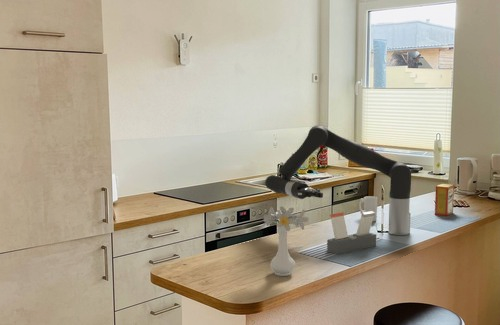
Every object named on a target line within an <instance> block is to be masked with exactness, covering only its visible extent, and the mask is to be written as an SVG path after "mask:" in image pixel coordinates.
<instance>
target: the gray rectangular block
mask: <svg viewBox="0 0 500 325" xmlns="http://www.w3.org/2000/svg"><path fill="white" fill-rule="evenodd" d="M326 240H327V242H326V245H327V246H326V248H327V249H326V251H327V252H328V253H332V254H335V255H341V254H345V253H349V252H353V251H359V250H363V249H366V248H367V249H368V248H371V247H376V246H377V234H376V233H373V232H369V234H365V235H360V236H359V235H357V234H356V233H353V234H348V237H346V238H341V239H335V237H333V238H328V239H326Z"/></svg>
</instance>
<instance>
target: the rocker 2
mask: <svg viewBox="0 0 500 325" xmlns="http://www.w3.org/2000/svg"><path fill="white" fill-rule="evenodd" d="M374 214H375V213H374V212H373V211H369V212H363V213H362V214H361V215H360V220H359V223H358V227H357V230H356V233H355V234H357V235H359V236H360V235H365V234H369V233H370V231H371V227H372V224H373V222H374V221H373V217H374ZM372 221H373V222H372Z"/></svg>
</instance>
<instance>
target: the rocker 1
mask: <svg viewBox="0 0 500 325" xmlns="http://www.w3.org/2000/svg"><path fill="white" fill-rule="evenodd" d="M329 216H330V221H331V225H332V230H333V235H334V238H335V239H341V238H346V237H348V235H349V234H348V230H347V225H346V220H345V214H344V212H338V213H337V212H336V213H330V214H329Z"/></svg>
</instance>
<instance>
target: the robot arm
mask: <svg viewBox="0 0 500 325" xmlns="http://www.w3.org/2000/svg"><path fill="white" fill-rule="evenodd" d="M322 146H323V147H326V148H328V149H331V150H333V151H335V152H336V153H337V154H339V155H340V156H341V157H343V158H345V159H346V160H348V161H350V162H351V163H353V164H356V165H358V166H361V167H365V168H367V169H370V170H375V171H378V172H380V173H382V174H383V175H385V176H387V177H389V178H390V183H389V184H390V188H389V194H388V195H389V200H388V201H389V204H388V205H389V207H388V234H390V235H394V236H406V235H407V236H408V235H409V234H410V233H411V212H410V200H411V199H410V198H411V196H410V195H411V191H412V190H411V188H412V171H411V169H410V167H409V166H408V165H407V164H405V163H403V162H400V161H397V160H394V159H391V158H388V157H385V155H382V154H380V153H379V152H377V151H375V150H373V149H371V148H370V147H368V146H366V145H364V144H361V143H359V142H357V141H353V140H352V139H349V138H345V137H343V136H341V135H338V134H336V133H335V132H332V131H331V130H329V129H328V128H326V127H325V126H322V125H320V124H319V125H314V126H312V127H311V128H310V129H309V131H308V134H307V136H306V137H305V139H304V141H303V142H302V144H301V146H299V147H298V148H297V150H296V151H294V152H293V153H292V154H291V155H290V157H289V158H287V160H286V161H285V162H284V163H283V164H282V165H281V167H280V168H279V170H278V171H279V173H280V175H281V176H282V177H280V176H278V175H268V176H267V177H266V179H265V187H266V188H267V189H269V190H270V191H272V192H274V193H275V194H283V195H286V196H290V197H293V198H296V199H300V200H303V199H306V198H319V199H321V198H324V192H321V189H320V188H319V187H318V188H316V189H315V188H312V187H311V186H309V185H308V184H307V183H305V182H302V181H297V180H291V179H292V177H293V176H294V175H295V174H296V173H297V172H298V170H299V169H300V168H301V167H302V166H303V165H304V163H305V162H306V160H308V158H309V157H310V156H312V154H314V152H315V151H317V150H318V149H319V148H321V147H322Z"/></svg>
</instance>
